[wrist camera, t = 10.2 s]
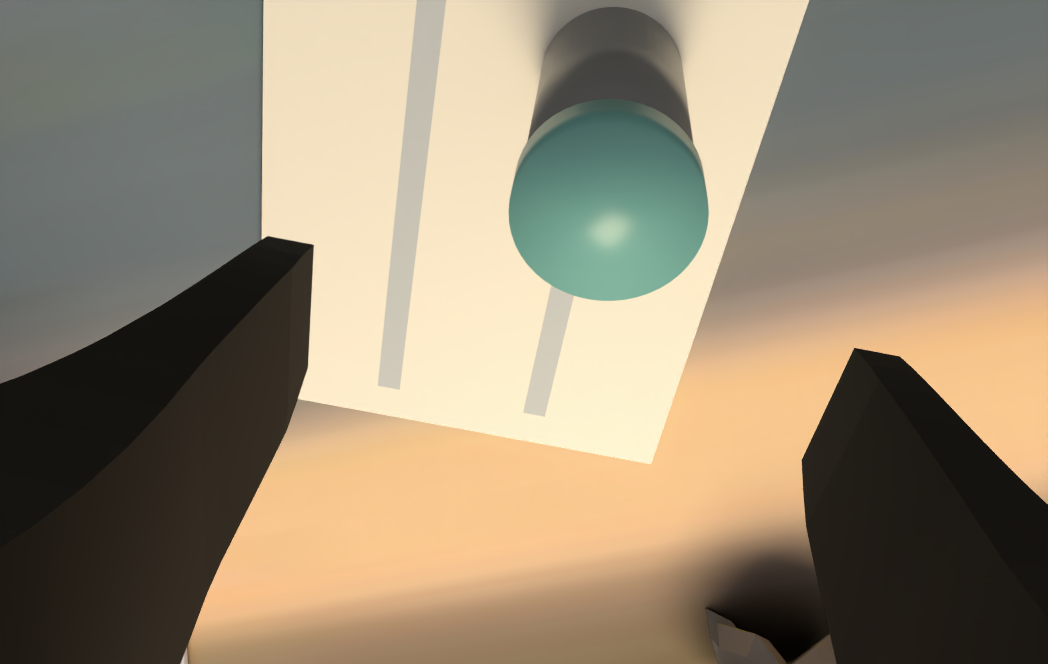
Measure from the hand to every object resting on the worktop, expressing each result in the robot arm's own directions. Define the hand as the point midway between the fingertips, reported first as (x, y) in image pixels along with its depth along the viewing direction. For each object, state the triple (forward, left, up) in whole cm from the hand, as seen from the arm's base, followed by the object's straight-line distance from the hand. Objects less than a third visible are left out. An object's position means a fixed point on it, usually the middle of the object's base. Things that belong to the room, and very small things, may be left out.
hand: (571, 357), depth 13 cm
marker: (0, 0, -10) cm, 10 cm away
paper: (-4, +2, -10) cm, 11 cm away
